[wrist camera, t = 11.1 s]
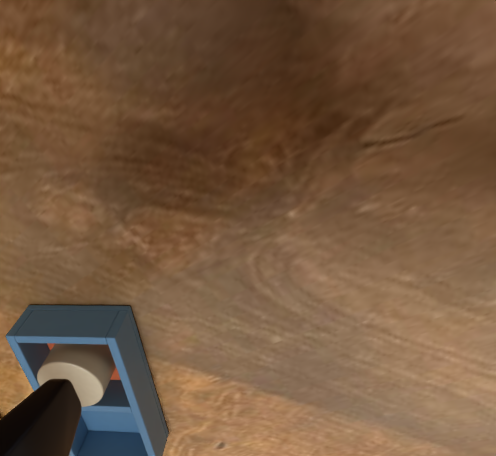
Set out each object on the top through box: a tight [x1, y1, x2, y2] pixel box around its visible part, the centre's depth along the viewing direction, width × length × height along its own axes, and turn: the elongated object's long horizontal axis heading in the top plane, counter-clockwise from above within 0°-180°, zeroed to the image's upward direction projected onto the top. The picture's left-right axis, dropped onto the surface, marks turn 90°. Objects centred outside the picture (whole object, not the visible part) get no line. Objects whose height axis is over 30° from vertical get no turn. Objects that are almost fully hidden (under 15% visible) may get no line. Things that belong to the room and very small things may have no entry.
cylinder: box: [37, 344, 116, 407], centre depth 25 cm, size 4×4×2 cm
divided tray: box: [6, 305, 169, 456], centre depth 27 cm, size 6×12×2 cm, turn 5°
